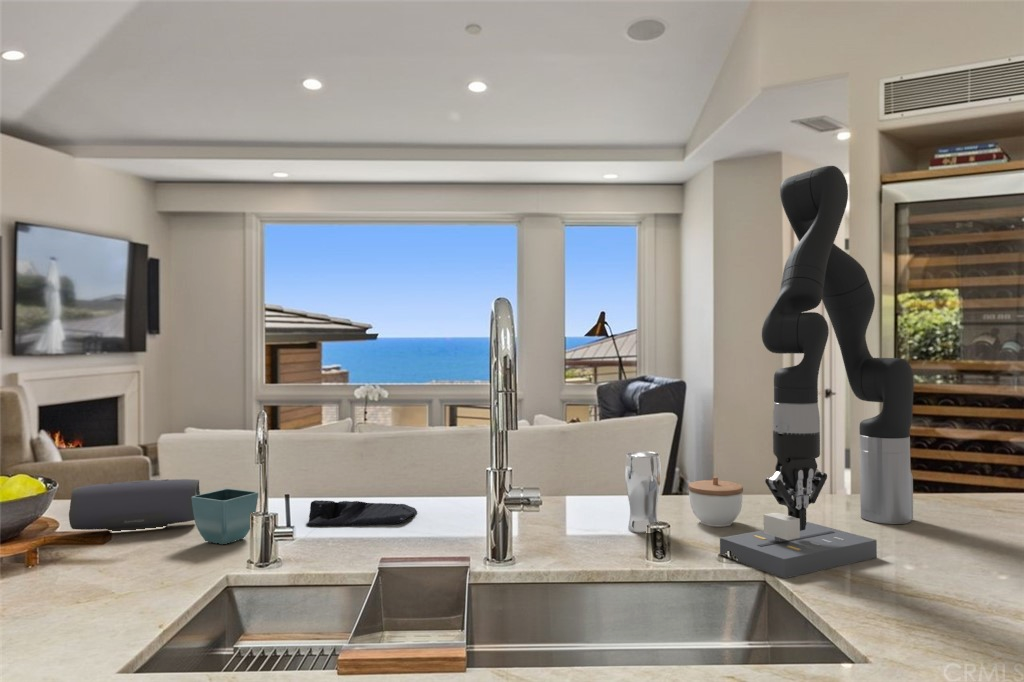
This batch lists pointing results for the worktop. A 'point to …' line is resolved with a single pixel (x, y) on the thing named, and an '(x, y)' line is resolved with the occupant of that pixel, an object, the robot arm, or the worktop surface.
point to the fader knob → (781, 526)
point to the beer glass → (642, 488)
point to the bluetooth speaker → (132, 504)
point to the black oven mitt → (357, 513)
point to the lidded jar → (715, 501)
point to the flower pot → (224, 514)
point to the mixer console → (800, 550)
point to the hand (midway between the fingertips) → (797, 529)
